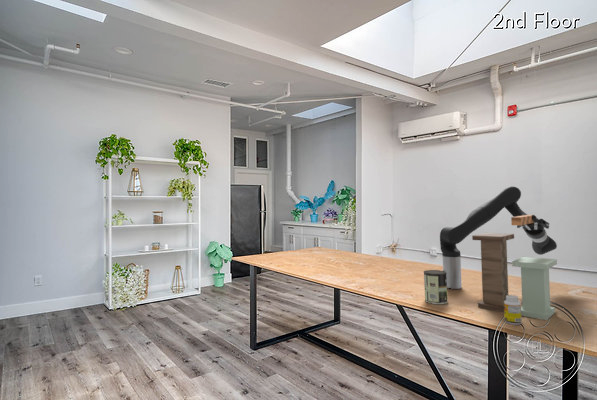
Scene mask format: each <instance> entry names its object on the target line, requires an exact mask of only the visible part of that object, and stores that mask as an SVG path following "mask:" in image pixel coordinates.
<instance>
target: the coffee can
mask: <svg viewBox="0 0 597 400" xmlns="http://www.w3.org/2000/svg"><path fill="white" fill-rule="evenodd" d="M446 274H447V272H445V271H443V270H440V269H429V270H428V269H426V270H424V271H423V279H424V280H423V281H424V282H423V284H424V302H425V301H426V302H425V303H427V302H428V303H427V304H431V303H432V304H433V305H445V304H448V303H449V302H448V288H447V276H446ZM432 304H431V305H432Z"/></svg>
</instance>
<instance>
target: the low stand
mask: <svg viewBox="0 0 597 400" xmlns="http://www.w3.org/2000/svg"><path fill="white" fill-rule="evenodd" d="M557 261H558V259H557V258H556V259H555V258H543V257H542V258H541V257H531V256H530V257H529V256H522V257H520V258H517V259H515V260H512V261H511V265H512V267H517V268H520V277H521V278H520V279H521V282H520V283H521V317H522V316H523V317H527V318H532V319H538V320H544V321H548V320H549V319H550V318H551V317H552V316H553V315H554V314H555V313H556V307H554V306H551V293H550V291H551V288H550V269H551V268H553V267H554V266H556V265H557V264H558V262H557Z"/></svg>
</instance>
